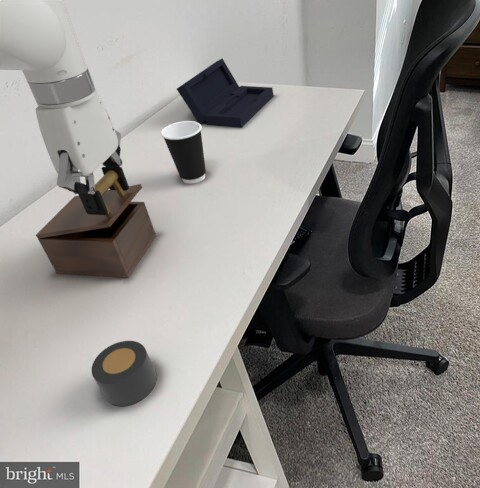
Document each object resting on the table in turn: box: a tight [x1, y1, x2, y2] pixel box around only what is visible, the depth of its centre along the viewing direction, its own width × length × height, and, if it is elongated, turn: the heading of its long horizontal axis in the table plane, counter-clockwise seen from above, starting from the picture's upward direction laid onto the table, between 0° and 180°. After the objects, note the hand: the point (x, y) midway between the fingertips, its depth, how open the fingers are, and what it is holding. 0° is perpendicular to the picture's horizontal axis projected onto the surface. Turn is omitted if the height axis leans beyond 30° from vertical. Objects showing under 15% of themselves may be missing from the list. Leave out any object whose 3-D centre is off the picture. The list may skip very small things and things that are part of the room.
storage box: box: [176, 57, 274, 128], centre depth 127 cm, size 21×16×10 cm
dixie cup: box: [160, 120, 207, 185], centre depth 98 cm, size 8×8×11 cm
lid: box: [35, 170, 143, 239], centre depth 76 cm, size 13×11×5 cm
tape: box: [91, 340, 158, 407], centre depth 59 cm, size 6×6×5 cm
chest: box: [37, 201, 157, 279], centre depth 80 cm, size 13×11×7 cm
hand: (108, 200), depth 75 cm, fingers closed on lid, 6 cm apart
